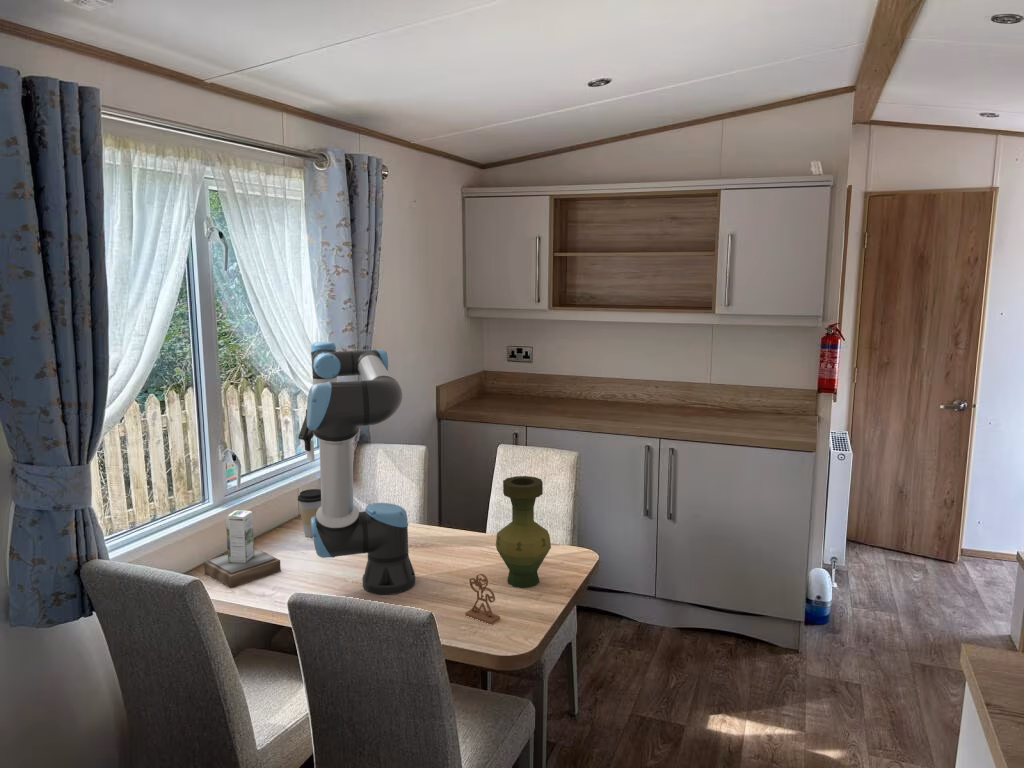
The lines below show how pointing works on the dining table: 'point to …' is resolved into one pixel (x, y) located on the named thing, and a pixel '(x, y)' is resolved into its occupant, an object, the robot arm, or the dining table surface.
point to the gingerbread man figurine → (475, 611)
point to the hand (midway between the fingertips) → (328, 456)
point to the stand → (242, 568)
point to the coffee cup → (309, 508)
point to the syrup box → (240, 536)
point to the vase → (523, 533)
